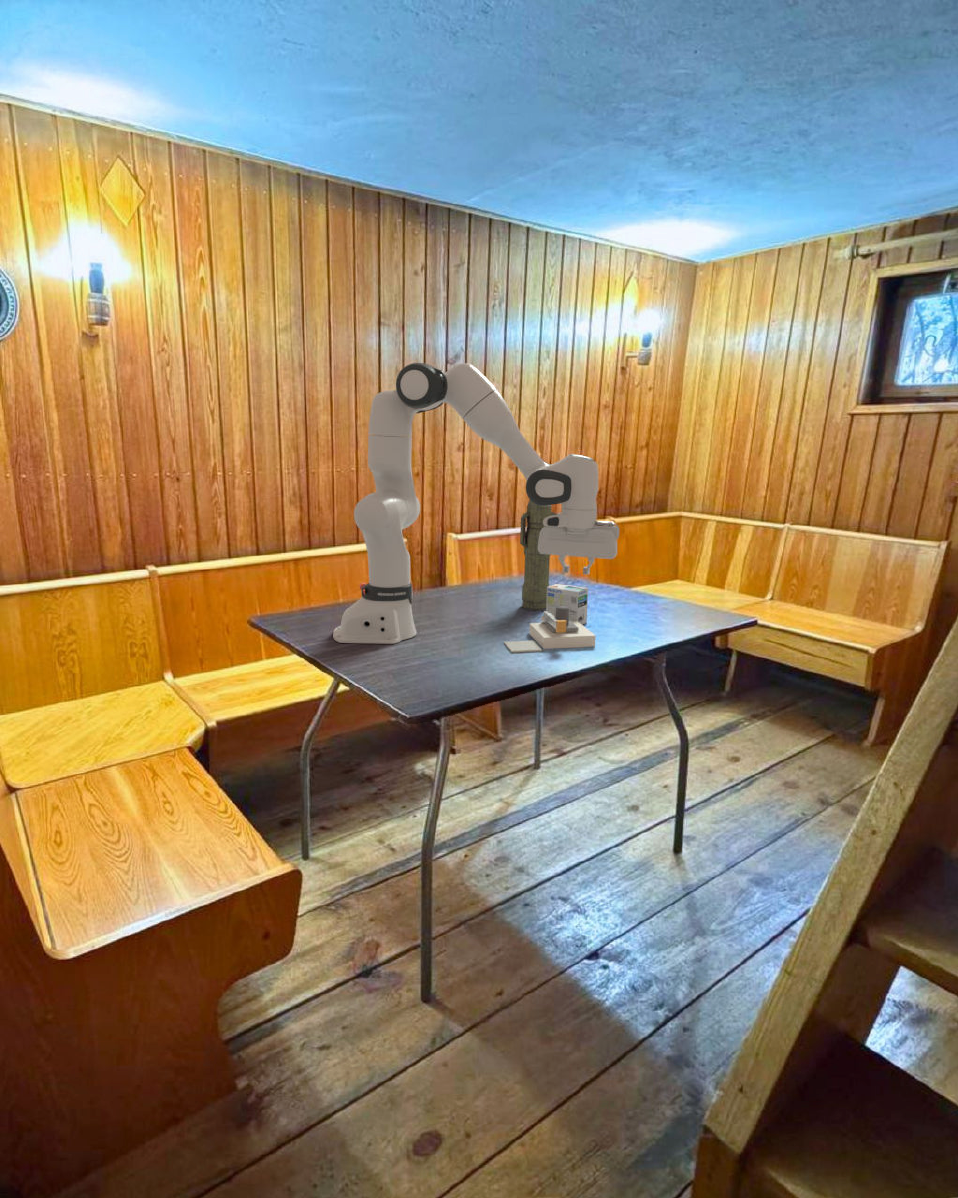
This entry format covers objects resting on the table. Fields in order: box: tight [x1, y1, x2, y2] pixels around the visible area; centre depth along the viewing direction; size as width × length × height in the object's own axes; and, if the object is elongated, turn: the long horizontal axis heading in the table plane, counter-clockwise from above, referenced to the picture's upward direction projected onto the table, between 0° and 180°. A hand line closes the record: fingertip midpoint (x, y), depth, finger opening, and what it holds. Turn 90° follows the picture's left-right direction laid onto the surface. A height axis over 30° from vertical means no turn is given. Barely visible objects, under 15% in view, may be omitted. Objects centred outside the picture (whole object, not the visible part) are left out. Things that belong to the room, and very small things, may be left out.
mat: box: [503, 640, 543, 654], centre depth 177 cm, size 8×8×1 cm
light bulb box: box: [545, 583, 589, 626], centre depth 201 cm, size 11×7×11 cm, turn 56°
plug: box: [545, 606, 579, 632], centre depth 183 cm, size 7×7×9 cm
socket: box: [528, 621, 596, 650], centre depth 184 cm, size 14×14×3 cm
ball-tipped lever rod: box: [540, 610, 567, 633], centre depth 182 cm, size 16×2×4 cm, turn 11°
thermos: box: [519, 499, 556, 611], centre depth 215 cm, size 9×12×35 cm
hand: (575, 573), depth 176 cm, fingers open, 4 cm apart
